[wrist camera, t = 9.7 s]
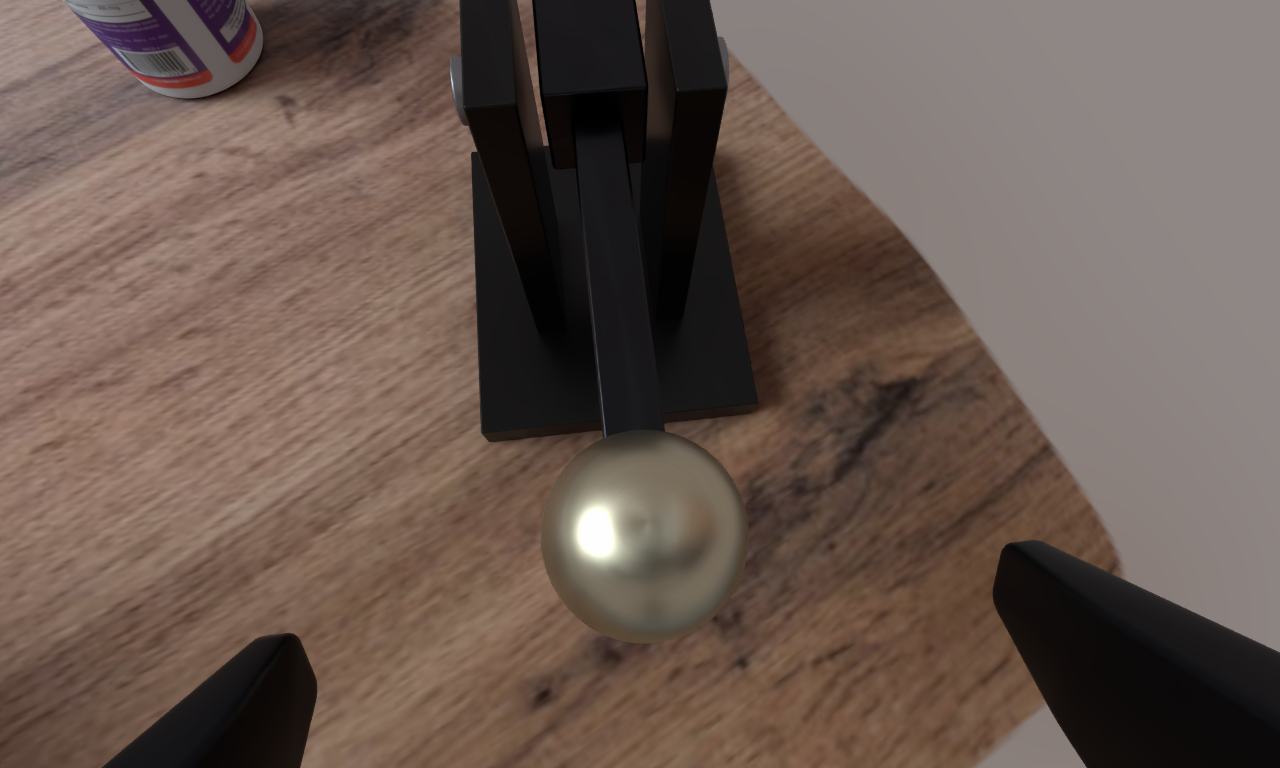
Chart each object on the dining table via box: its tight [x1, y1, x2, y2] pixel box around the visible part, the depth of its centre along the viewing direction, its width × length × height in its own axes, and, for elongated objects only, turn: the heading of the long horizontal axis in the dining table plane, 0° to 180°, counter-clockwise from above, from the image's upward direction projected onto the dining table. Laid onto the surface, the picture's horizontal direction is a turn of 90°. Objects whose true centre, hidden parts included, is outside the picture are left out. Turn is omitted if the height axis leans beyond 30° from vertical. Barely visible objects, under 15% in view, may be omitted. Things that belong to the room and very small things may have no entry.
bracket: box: [450, 0, 758, 442], centre depth 18 cm, size 11×9×11 cm
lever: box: [532, 0, 749, 643], centre depth 12 cm, size 13×4×4 cm, turn 7°
